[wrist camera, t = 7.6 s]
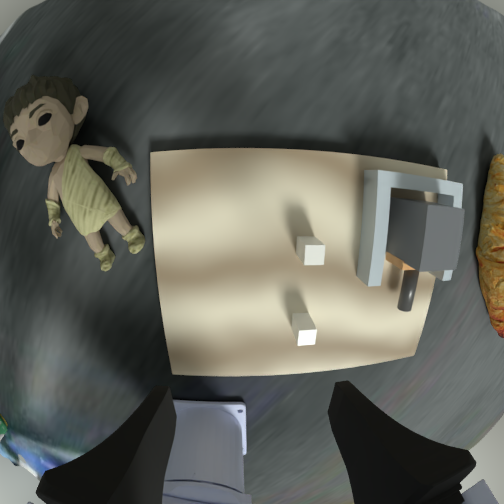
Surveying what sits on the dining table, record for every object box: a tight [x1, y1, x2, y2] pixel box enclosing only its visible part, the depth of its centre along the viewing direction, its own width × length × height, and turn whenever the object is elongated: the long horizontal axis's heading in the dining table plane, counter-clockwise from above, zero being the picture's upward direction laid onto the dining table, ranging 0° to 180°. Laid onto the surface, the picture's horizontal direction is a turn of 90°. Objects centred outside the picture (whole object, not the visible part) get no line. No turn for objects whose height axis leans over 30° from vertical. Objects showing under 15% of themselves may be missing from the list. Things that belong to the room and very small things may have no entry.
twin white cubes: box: [291, 236, 325, 346], centre depth 18 cm, size 7×1×2 cm, turn 0°
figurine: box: [3, 75, 145, 271], centre depth 15 cm, size 8×6×15 cm
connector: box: [385, 197, 465, 312], centre depth 16 cm, size 8×4×4 cm, turn 179°
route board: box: [151, 148, 447, 376], centre depth 19 cm, size 17×22×1 cm
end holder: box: [356, 170, 463, 287], centre depth 17 cm, size 8×8×2 cm
